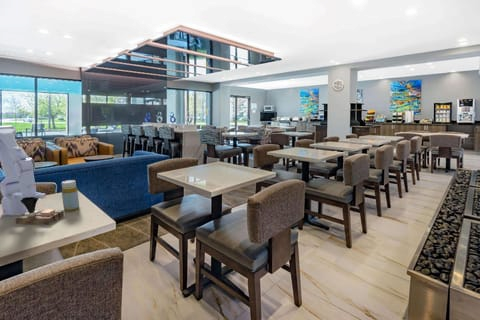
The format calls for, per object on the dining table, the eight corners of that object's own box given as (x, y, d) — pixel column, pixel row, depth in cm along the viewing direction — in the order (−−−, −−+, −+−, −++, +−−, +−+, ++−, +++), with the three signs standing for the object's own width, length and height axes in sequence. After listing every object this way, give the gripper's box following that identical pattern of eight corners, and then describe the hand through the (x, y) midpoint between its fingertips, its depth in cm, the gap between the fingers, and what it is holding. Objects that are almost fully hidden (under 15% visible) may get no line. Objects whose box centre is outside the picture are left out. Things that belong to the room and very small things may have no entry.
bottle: (72, 212, 143) (69, 183, 140) (60, 211, 144) (57, 183, 141) (82, 207, 150) (79, 180, 147) (71, 206, 151) (68, 179, 148)
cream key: (25, 219, 132) (24, 213, 131) (31, 216, 136) (31, 210, 135) (33, 219, 131) (32, 213, 131) (39, 216, 135) (39, 210, 135)
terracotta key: (41, 218, 131) (40, 212, 131) (47, 215, 135) (46, 209, 134) (49, 218, 131) (48, 212, 130) (55, 215, 135) (54, 209, 134)
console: (16, 223, 129) (15, 217, 128) (32, 215, 139) (32, 209, 138) (49, 224, 128) (48, 218, 128) (64, 216, 138) (63, 210, 137)
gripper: (5, 186, 127) (9, 215, 129) (36, 187, 126) (40, 215, 129) (18, 182, 134) (22, 209, 136) (47, 183, 133) (51, 210, 136)
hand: (31, 212), depth 133 cm, fingers closed, pressing on cream key
